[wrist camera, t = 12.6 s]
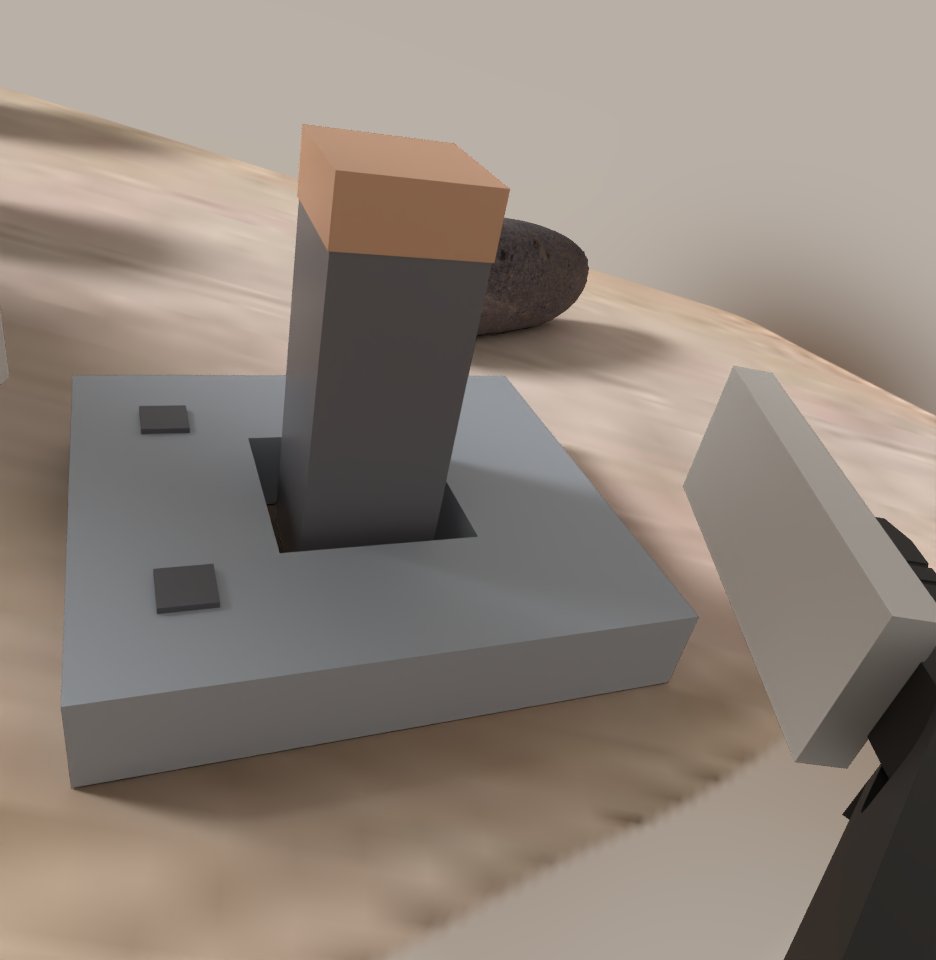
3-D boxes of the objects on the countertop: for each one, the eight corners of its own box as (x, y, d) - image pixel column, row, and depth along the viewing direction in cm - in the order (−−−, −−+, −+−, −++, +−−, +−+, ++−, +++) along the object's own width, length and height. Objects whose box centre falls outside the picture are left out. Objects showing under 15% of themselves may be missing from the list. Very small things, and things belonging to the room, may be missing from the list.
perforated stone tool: (551, 306, 55) (578, 204, 51) (598, 340, 52) (631, 233, 48) (349, 316, 48) (363, 196, 44) (388, 356, 44) (407, 230, 40)
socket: (70, 788, 20) (60, 701, 18) (78, 442, 32) (72, 370, 30) (668, 682, 27) (701, 612, 25) (492, 431, 39) (506, 372, 37)
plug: (294, 602, 27) (335, 169, 19) (274, 518, 30) (302, 123, 23) (425, 590, 29) (510, 189, 21) (391, 512, 32) (454, 143, 25)
